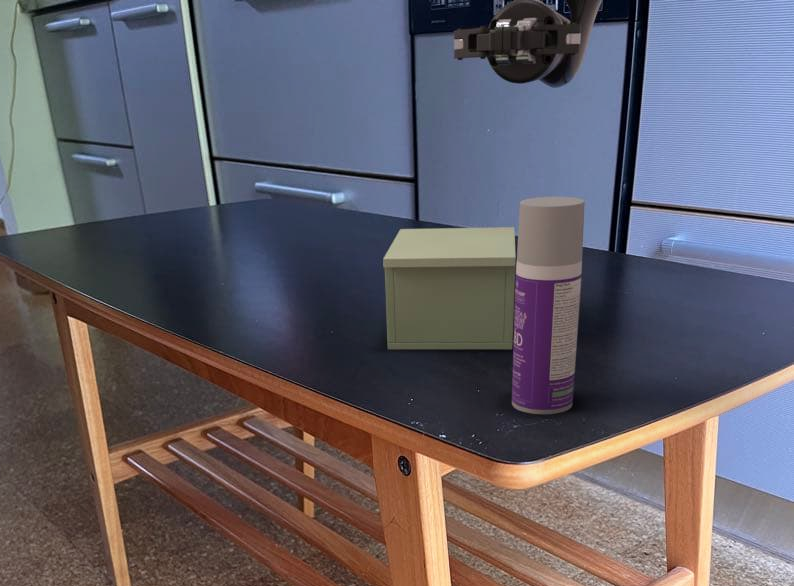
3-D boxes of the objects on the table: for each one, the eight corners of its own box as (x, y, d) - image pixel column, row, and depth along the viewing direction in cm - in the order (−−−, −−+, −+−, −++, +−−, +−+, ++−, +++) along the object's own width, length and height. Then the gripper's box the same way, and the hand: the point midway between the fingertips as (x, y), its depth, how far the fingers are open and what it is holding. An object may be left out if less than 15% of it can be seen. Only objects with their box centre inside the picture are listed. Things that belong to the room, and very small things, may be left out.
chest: (512, 351, 80) (515, 264, 77) (387, 351, 82) (384, 266, 78) (511, 312, 92) (514, 235, 88) (402, 313, 94) (400, 237, 90)
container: (499, 405, 68) (504, 202, 61) (541, 391, 71) (551, 194, 64) (542, 421, 65) (553, 208, 58) (585, 406, 67) (600, 200, 60)
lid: (515, 266, 76) (515, 256, 76) (383, 267, 77) (383, 258, 77) (514, 235, 88) (514, 227, 88) (400, 237, 90) (400, 229, 89)
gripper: (465, 4, 92) (429, -5, 78) (593, -3, 89) (581, -14, 74) (465, 84, 96) (431, 90, 81) (588, 80, 93) (575, 85, 78)
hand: (503, 40), depth 78 cm, fingers closed
